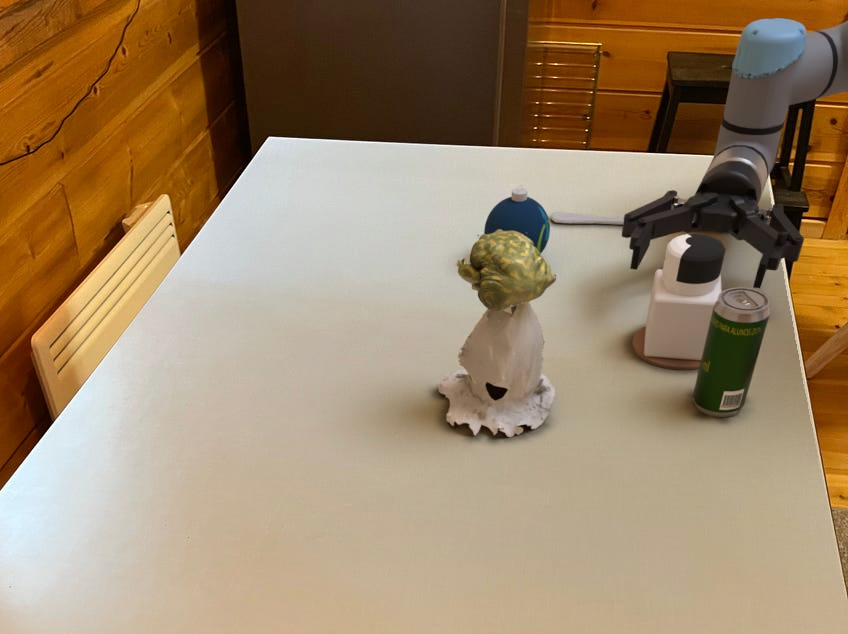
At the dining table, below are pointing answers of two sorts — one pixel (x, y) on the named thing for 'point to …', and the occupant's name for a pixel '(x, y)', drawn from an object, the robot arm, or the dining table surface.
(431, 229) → the dining table surface
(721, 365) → the green drink can
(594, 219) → the butter knife
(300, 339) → the dining table surface
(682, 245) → the medicine bottle
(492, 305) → the white and green statuette
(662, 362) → the coaster
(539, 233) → the christmas ornament
